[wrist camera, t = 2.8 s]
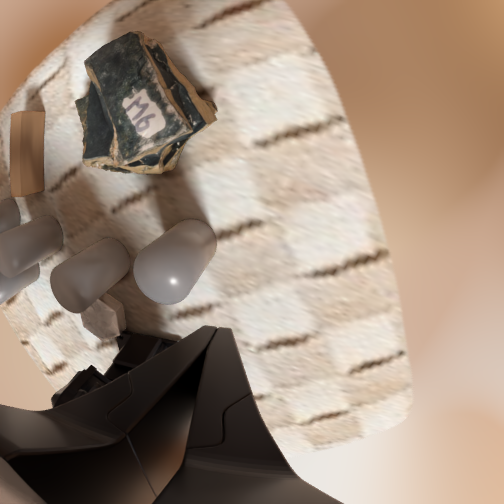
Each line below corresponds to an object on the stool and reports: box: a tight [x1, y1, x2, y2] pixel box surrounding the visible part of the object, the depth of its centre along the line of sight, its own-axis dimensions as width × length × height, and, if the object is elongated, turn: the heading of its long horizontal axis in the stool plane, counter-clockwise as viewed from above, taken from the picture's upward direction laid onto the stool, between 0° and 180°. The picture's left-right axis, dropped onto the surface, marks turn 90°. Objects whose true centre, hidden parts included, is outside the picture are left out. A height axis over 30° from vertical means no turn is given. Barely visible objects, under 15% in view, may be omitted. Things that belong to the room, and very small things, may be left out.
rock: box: [75, 31, 217, 175], centre depth 17 cm, size 9×9×6 cm
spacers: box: [0, 199, 217, 313], centre depth 20 cm, size 8×24×6 cm, turn 86°
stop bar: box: [10, 111, 45, 197], centre depth 19 cm, size 7×2×3 cm, turn 176°
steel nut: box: [81, 292, 127, 341], centre depth 24 cm, size 4×5×2 cm
